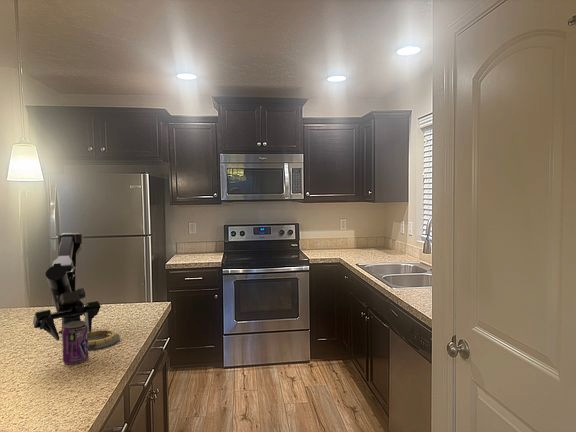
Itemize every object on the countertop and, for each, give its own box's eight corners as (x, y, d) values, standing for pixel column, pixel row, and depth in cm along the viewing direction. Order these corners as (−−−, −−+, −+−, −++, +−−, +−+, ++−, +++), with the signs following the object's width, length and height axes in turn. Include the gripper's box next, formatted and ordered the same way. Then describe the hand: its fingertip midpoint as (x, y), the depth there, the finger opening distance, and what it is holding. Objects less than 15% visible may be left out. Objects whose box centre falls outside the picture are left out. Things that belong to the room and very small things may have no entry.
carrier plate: (62, 347, 134) (62, 339, 134) (98, 332, 148) (98, 326, 148) (94, 353, 129) (94, 345, 128) (128, 337, 142) (128, 331, 142)
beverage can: (77, 366, 119) (76, 328, 118) (57, 364, 120) (56, 326, 119) (93, 357, 125) (92, 320, 125) (74, 355, 127) (73, 319, 126)
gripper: (33, 286, 119) (45, 329, 111) (97, 277, 132) (111, 315, 125) (28, 306, 125) (39, 349, 117) (90, 296, 138) (103, 333, 131)
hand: (74, 336), depth 122 cm, fingers open, 9 cm apart
